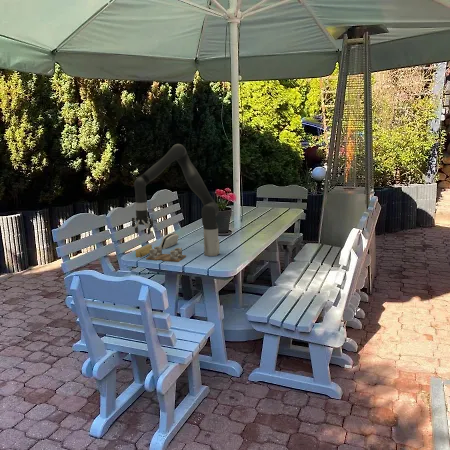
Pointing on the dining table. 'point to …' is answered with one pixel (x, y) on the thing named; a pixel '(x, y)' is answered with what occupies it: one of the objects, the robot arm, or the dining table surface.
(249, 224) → the dining table surface
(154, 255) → the chain bed
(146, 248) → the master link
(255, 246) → the dining table surface
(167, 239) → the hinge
